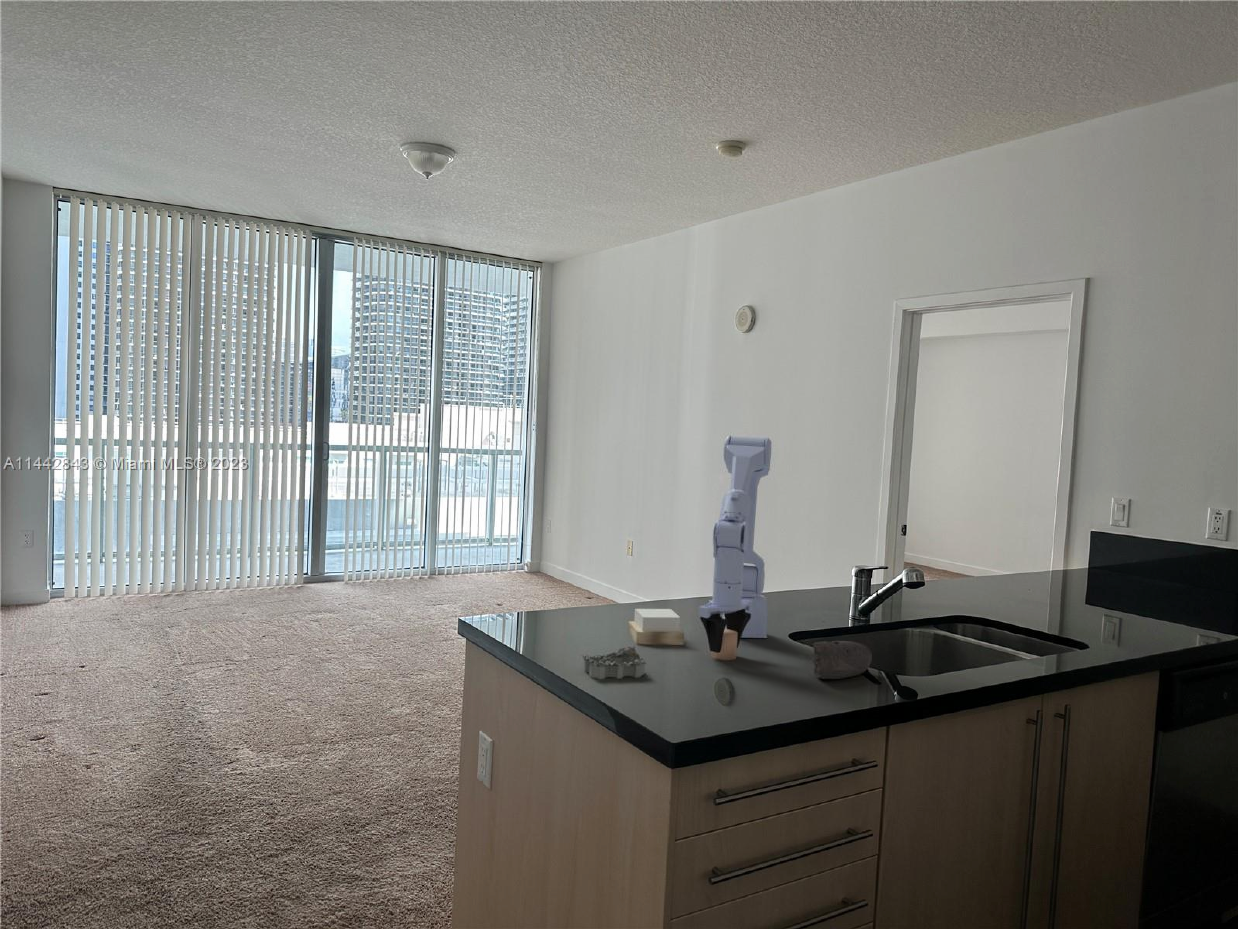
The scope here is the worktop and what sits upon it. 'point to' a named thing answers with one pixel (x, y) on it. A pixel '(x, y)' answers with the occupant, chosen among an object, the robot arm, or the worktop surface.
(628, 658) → the grey carved stone fragment
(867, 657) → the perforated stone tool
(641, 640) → the tower base
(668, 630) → the tower top
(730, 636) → the cylinder
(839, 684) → the worktop surface
